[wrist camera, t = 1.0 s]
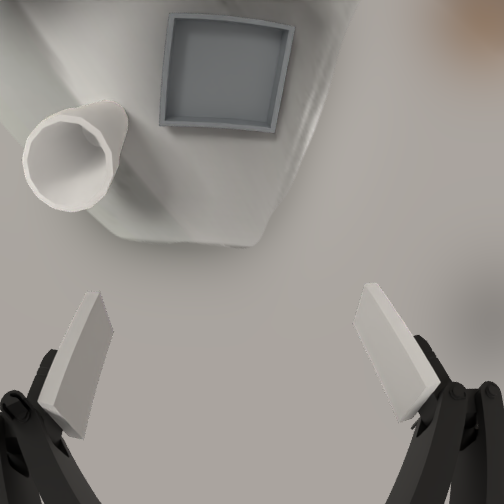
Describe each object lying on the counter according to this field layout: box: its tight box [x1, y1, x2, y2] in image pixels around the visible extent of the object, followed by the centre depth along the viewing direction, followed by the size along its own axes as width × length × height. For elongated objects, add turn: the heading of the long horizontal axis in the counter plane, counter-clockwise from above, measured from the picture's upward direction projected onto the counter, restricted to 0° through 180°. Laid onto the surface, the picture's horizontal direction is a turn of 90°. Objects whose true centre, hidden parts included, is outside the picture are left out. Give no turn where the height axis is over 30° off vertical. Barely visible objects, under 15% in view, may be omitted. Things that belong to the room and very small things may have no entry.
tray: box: [159, 13, 295, 133], centre depth 28 cm, size 13×13×3 cm
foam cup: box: [22, 100, 128, 212], centre depth 26 cm, size 10×9×13 cm
